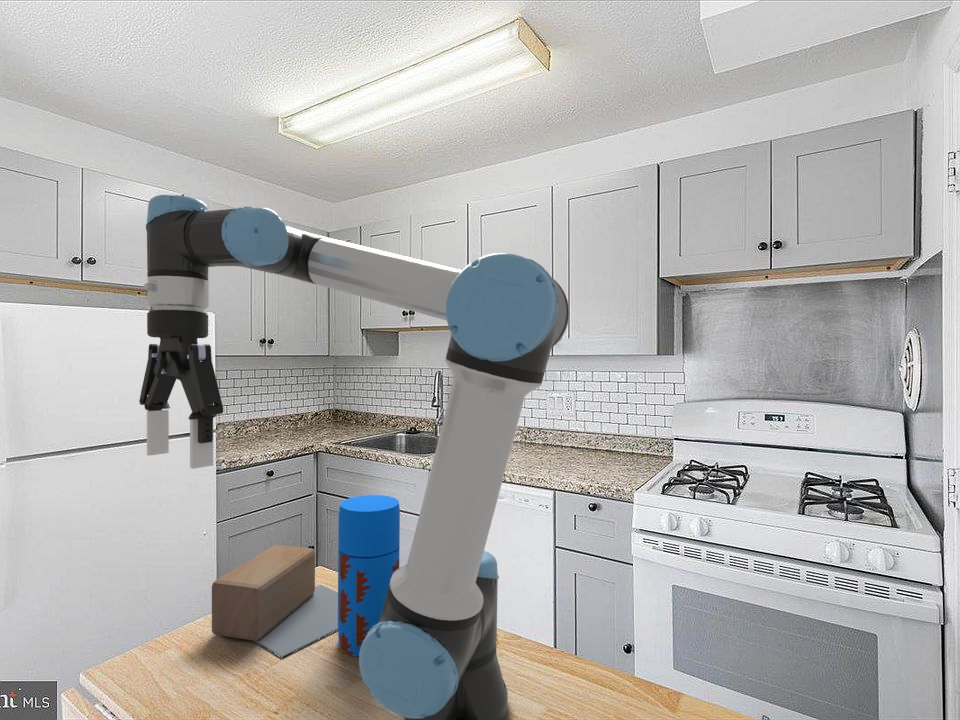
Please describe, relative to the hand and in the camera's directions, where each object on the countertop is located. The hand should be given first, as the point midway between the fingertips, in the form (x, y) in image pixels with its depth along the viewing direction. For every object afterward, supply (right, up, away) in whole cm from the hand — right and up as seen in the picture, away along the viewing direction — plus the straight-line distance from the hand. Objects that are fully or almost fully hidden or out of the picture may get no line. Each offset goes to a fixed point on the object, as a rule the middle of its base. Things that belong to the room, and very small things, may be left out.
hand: (178, 460), depth 76 cm
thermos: (+23, -37, +21) cm, 48 cm away
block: (-1, -31, +19) cm, 36 cm away
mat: (+8, -36, +29) cm, 47 cm away
